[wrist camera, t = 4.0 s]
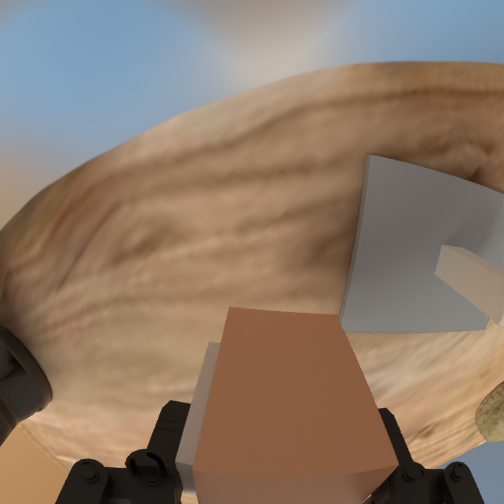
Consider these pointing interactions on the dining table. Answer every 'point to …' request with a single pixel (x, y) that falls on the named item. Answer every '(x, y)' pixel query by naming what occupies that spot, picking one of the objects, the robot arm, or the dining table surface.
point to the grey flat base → (424, 253)
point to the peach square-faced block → (289, 416)
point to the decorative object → (492, 415)
